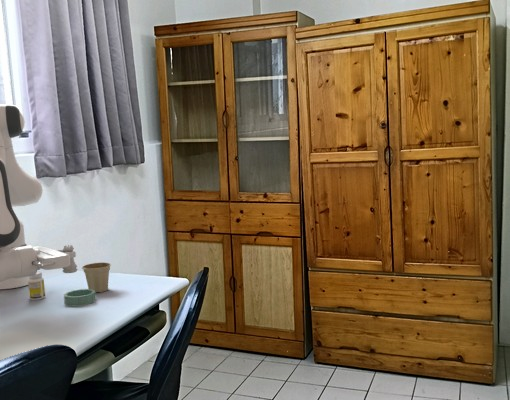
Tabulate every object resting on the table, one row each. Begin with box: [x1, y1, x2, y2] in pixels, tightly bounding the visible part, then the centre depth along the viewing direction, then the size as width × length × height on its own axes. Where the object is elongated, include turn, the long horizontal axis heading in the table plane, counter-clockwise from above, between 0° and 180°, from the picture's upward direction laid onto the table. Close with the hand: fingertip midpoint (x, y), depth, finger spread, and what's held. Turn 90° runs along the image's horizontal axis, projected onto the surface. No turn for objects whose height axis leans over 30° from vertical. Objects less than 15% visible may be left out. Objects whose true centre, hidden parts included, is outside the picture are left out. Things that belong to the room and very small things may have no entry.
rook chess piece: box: [62, 244, 78, 274], centre depth 180 cm, size 4×4×8 cm
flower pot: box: [81, 261, 112, 294], centre depth 197 cm, size 9×9×9 cm
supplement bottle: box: [27, 271, 46, 301], centre depth 191 cm, size 5×5×8 cm
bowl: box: [63, 288, 97, 307], centre depth 185 cm, size 9×9×3 cm
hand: (71, 252), depth 180 cm, fingers closed on rook chess piece, 3 cm apart
